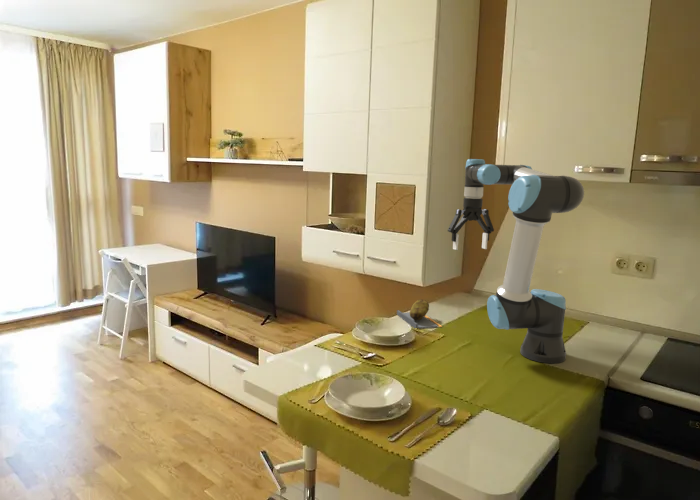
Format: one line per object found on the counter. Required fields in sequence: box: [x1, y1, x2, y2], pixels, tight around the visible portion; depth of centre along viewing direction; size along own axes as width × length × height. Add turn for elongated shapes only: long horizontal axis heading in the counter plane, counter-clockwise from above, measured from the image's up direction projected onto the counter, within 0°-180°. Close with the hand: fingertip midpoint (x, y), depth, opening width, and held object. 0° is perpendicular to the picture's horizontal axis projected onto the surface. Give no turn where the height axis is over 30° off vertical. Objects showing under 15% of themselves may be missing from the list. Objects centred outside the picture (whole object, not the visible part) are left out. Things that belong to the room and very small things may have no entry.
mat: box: [396, 309, 439, 330], centre depth 218 cm, size 20×10×2 cm, turn 17°
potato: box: [409, 298, 430, 320], centre depth 217 cm, size 8×13×8 cm, turn 146°
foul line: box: [424, 314, 443, 328], centre depth 220 cm, size 20×1×1 cm, turn 17°
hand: (469, 249), depth 212 cm, fingers open, 13 cm apart
